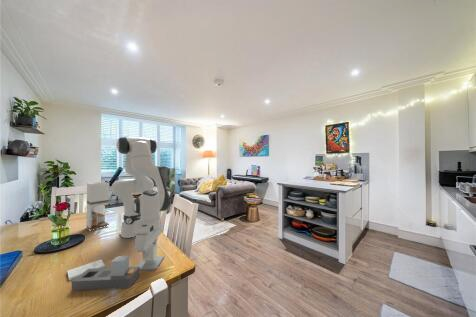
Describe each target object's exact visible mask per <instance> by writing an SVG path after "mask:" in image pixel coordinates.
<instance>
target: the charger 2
mask: <svg viewBox="0 0 476 317" xmlns="http://www.w3.org/2000/svg"><path fill="white" fill-rule="evenodd" d="M147 252H148V256H147V257H146V258H143V257H142V259H143V261H145V264H152V263H153V262H154V259H155V258H156V257H158V243H156V244H151V245H150V246H149V247H148V248H147Z"/></svg>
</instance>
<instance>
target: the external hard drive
mask: <svg viewBox="0 0 476 317" xmlns="http://www.w3.org/2000/svg"><path fill="white" fill-rule="evenodd" d="M96 268H106V264H105V263H104V262H103V260H102V259H99V260H95V261H92V262H89V263H86V264H84V265H81V266H80V265H79V266H77V267H74V268H72V269H68V270H67V272H66V273H67V278H68V281H69V282H70V281H73V280H74V279H76V278H77V277H78V276H80V275H81V274H82V273H83V272H85V271H86V270H87V269H96Z"/></svg>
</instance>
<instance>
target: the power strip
mask: <svg viewBox="0 0 476 317" xmlns="http://www.w3.org/2000/svg"><path fill="white" fill-rule="evenodd" d="M139 276H141V271H140V267H136V266H129V270H128V271H127V273H126V274H125V275H124V276H111V267H105V268H96V269H87V270H86V271H85V272H83V273H82V274H81V275H80V276H78V277H77V278H75V279H73V280H71V292H72V291H73V292H74V291H89V290H90V291H93V290H110V289H111V290H113V289H130V288H131V286H133V284H134V283H135V281H136V280H137V279H138V277H139Z"/></svg>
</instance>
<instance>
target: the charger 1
mask: <svg viewBox="0 0 476 317" xmlns="http://www.w3.org/2000/svg"><path fill="white" fill-rule="evenodd" d="M129 267H130V255H121V256H119V255H118V256H116V257H114V259H113V260H111V261H110V268H111V276H124V275H125V274H126V273H127V271H128V270H129Z"/></svg>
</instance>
